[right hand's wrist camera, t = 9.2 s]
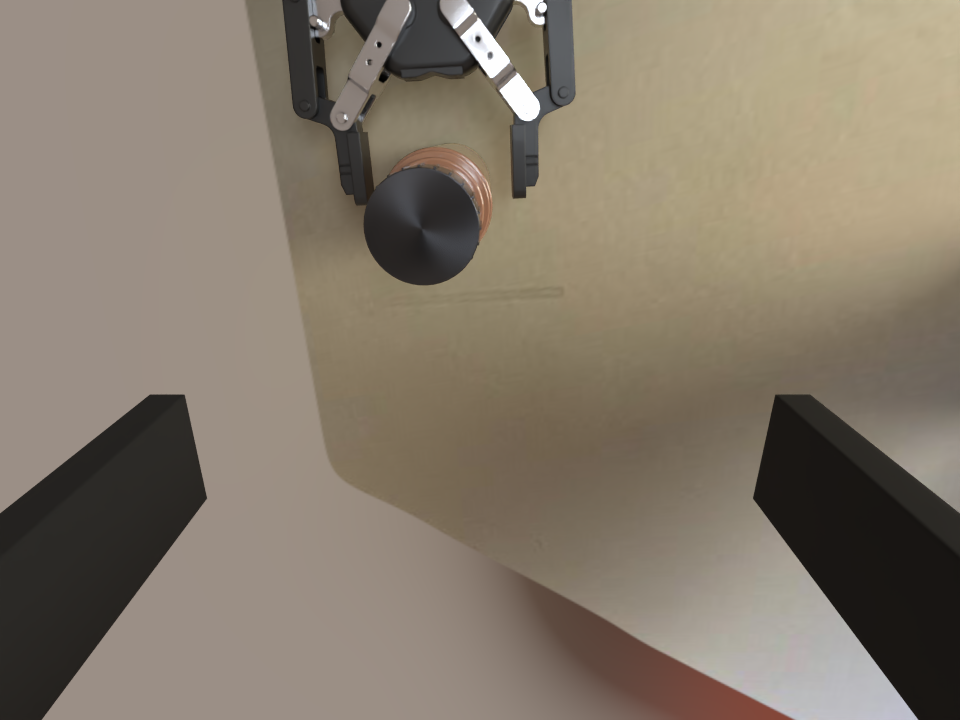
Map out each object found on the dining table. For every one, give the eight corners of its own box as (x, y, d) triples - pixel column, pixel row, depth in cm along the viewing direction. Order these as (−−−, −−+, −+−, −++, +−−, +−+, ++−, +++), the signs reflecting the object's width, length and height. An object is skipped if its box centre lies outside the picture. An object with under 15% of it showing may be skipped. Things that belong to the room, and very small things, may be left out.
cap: (499, 244, 21) (501, 256, 19) (406, 289, 22) (397, 305, 20) (452, 142, 20) (448, 143, 18) (354, 193, 21) (339, 199, 19)
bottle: (502, 201, 37) (517, 260, 20) (436, 233, 38) (394, 318, 21) (470, 129, 36) (454, 123, 18) (401, 164, 37) (324, 192, 19)
